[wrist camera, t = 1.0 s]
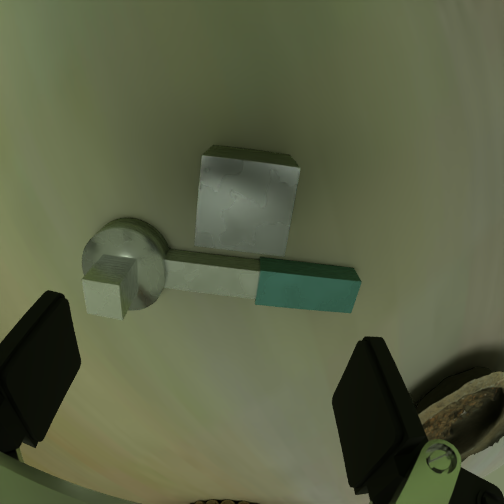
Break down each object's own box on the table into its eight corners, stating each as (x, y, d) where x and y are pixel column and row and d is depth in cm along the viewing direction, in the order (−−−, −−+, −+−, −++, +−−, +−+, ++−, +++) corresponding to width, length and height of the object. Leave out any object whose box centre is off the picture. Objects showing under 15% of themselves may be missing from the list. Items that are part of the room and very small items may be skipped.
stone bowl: (487, 415, 44) (502, 450, 36) (373, 448, 48) (380, 490, 40) (529, 323, 33) (558, 363, 25) (386, 364, 37) (403, 420, 29)
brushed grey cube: (213, 144, 25) (201, 155, 19) (289, 154, 25) (300, 168, 20) (206, 216, 28) (194, 245, 22) (277, 225, 28) (284, 256, 22)
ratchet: (92, 214, 27) (52, 246, 21) (359, 246, 29) (388, 287, 22) (98, 287, 31) (68, 330, 24) (338, 316, 32) (356, 366, 25)
